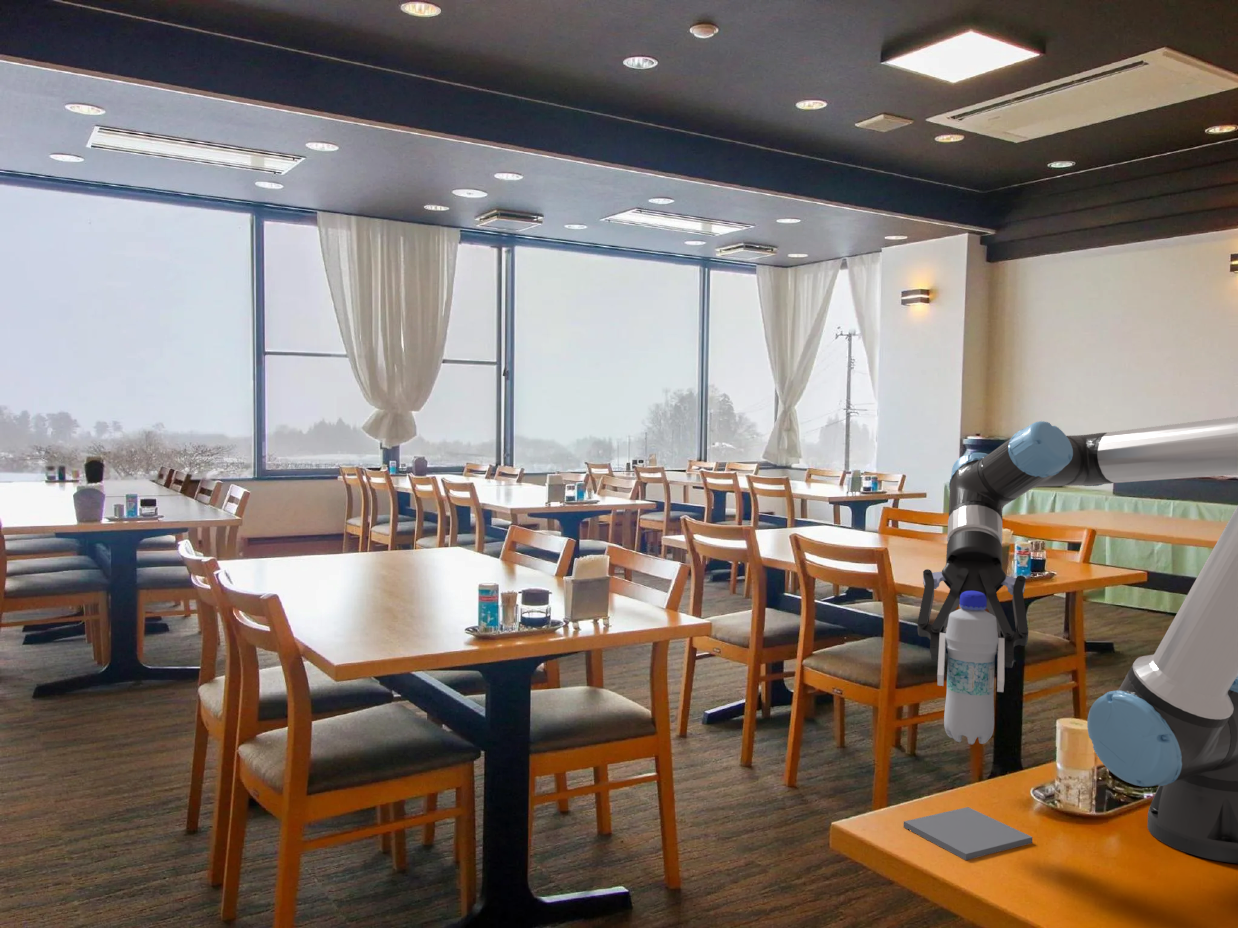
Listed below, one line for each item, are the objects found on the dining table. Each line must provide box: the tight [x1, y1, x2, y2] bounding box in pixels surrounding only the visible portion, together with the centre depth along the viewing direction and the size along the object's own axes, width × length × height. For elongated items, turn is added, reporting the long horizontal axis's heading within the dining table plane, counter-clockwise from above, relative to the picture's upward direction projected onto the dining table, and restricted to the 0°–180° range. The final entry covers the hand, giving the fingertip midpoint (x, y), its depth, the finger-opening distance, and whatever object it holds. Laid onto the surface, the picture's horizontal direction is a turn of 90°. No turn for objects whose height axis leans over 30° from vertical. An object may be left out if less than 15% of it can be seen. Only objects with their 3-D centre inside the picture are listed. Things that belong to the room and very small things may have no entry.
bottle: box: [943, 591, 999, 745], centre depth 129 cm, size 7×7×20 cm
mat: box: [903, 806, 1033, 861], centre depth 130 cm, size 11×12×1 cm
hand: (970, 683), depth 126 cm, fingers closed on bottle, 7 cm apart
